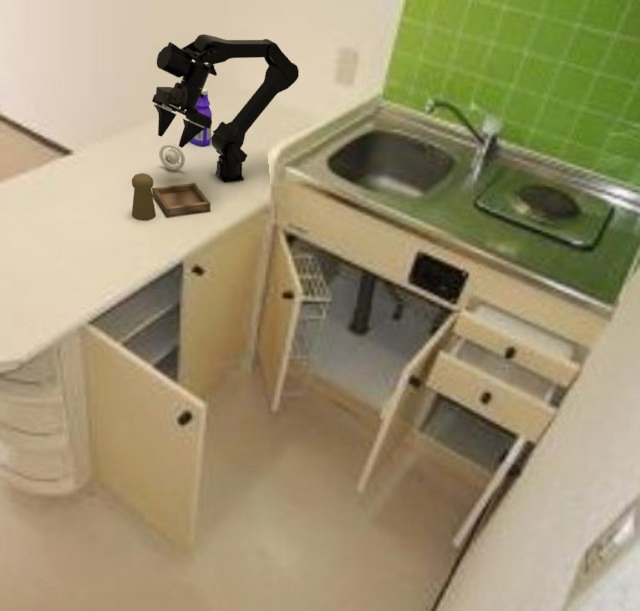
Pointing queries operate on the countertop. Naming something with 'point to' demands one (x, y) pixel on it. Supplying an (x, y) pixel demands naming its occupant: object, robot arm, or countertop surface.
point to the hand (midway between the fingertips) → (169, 141)
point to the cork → (143, 197)
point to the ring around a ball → (172, 157)
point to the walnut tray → (180, 200)
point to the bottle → (203, 108)
